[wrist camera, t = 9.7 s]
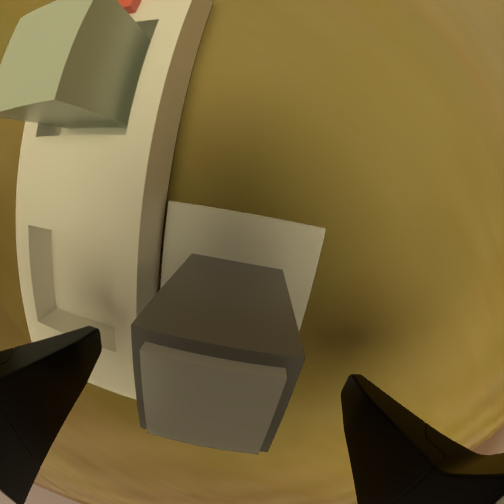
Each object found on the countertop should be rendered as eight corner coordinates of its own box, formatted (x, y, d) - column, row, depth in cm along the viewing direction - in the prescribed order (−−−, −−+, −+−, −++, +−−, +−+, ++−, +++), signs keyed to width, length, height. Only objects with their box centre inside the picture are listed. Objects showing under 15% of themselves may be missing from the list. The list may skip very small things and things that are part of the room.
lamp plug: (68, 128, 11) (-15, 115, 5) (88, 55, 10) (21, 17, 4) (136, 128, 11) (54, 99, 5) (157, 47, 10) (101, -16, 4)
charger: (184, 330, 14) (137, 435, 7) (192, 253, 13) (124, 332, 6) (264, 345, 14) (267, 460, 7) (282, 269, 13) (307, 367, 6)
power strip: (156, 370, 15) (137, 409, 12) (58, 336, 15) (30, 363, 12) (212, 4, 10) (201, -36, 6) (94, 17, 10) (65, -7, 6)
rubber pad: (160, 353, 15) (158, 357, 15) (171, 200, 13) (168, 201, 12) (283, 375, 15) (284, 379, 15) (324, 227, 13) (325, 228, 13)
